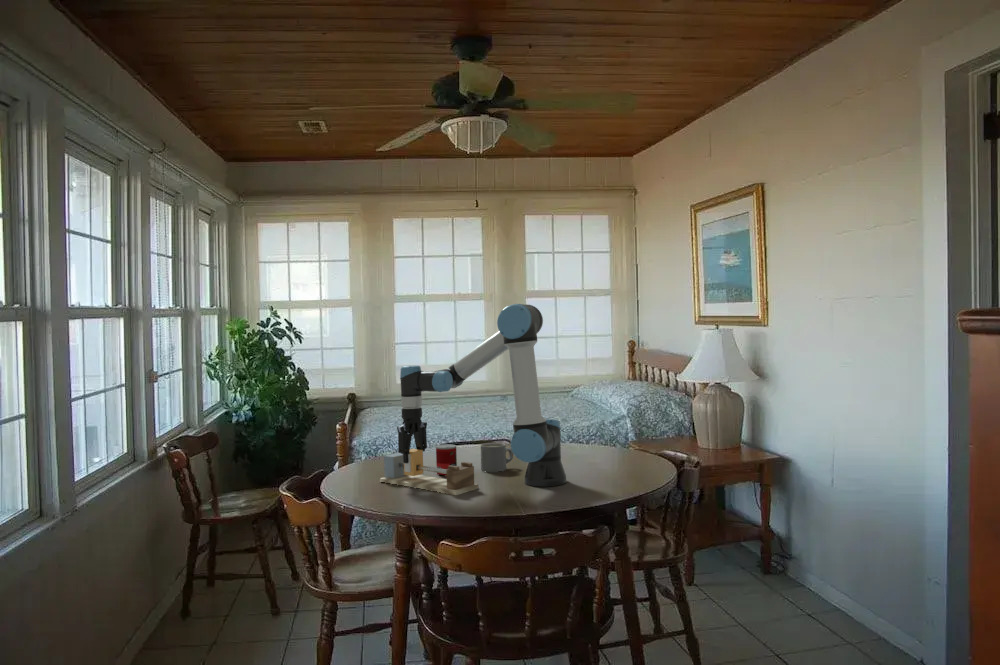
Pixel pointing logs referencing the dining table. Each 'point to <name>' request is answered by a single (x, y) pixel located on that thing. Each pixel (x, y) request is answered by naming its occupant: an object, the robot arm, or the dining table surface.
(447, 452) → the canned food
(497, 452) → the coffee mug
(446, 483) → the rail board
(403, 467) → the rail rod
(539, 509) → the dining table surface
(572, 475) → the dining table surface
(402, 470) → the block
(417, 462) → the tan block with hole
